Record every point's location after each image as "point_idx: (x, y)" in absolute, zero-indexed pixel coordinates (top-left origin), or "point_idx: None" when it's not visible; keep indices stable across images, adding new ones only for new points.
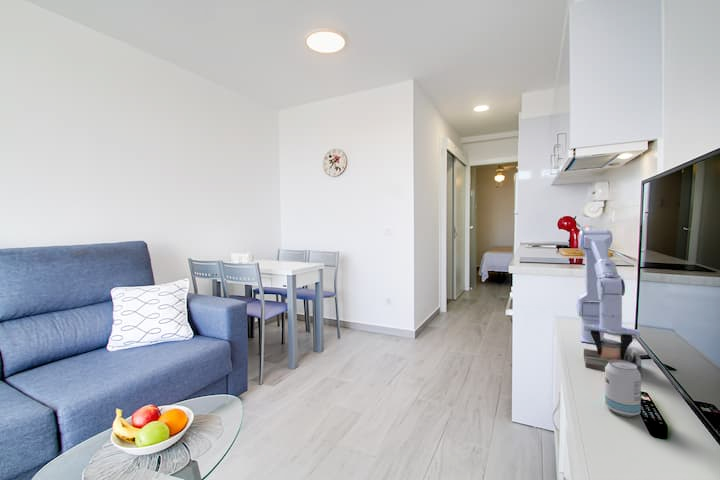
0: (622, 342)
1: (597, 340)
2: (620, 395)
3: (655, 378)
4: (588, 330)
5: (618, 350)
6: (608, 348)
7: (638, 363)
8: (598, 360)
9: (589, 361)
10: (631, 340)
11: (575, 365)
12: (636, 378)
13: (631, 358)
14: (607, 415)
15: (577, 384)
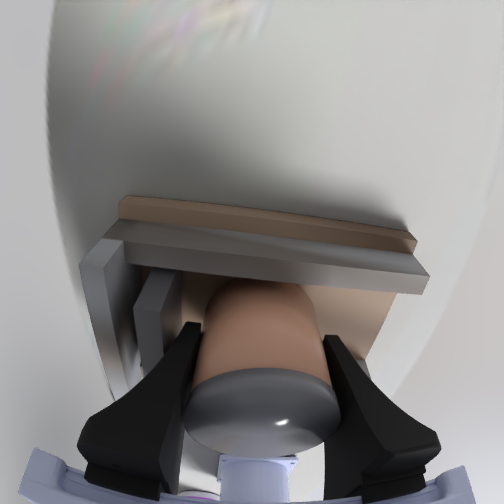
0: (174, 423)
1: (385, 415)
2: None
3: (72, 196)
4: (427, 485)
5: (217, 356)
6: (297, 361)
7: (110, 247)
8: (361, 264)
9: (401, 261)
10: (88, 427)
11: (446, 241)
12: None
13: (141, 292)
14: None
15: (492, 3)
